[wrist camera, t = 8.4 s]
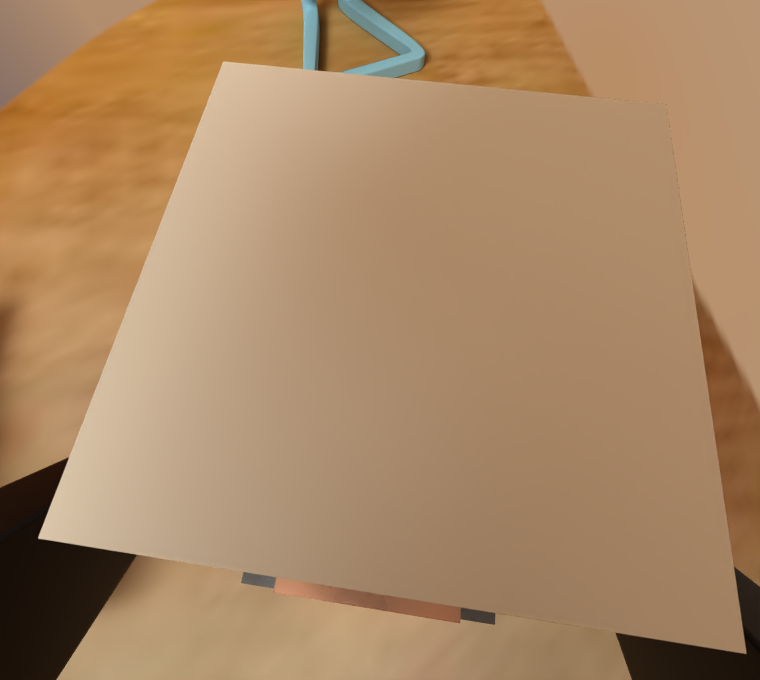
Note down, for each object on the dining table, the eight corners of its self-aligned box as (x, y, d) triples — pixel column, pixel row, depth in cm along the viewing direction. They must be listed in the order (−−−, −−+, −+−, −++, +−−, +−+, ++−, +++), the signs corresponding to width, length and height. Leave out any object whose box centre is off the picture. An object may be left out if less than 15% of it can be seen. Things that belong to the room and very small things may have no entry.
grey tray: (496, 602, 15) (524, 633, 12) (244, 561, 15) (213, 582, 12) (509, 215, 20) (529, 174, 18) (327, 195, 21) (318, 151, 18)
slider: (445, 525, 15) (952, 953, 2) (310, 505, 15) (-177, 732, 2) (456, 377, 17) (729, 35, 4) (336, 361, 17) (183, -13, 4)
